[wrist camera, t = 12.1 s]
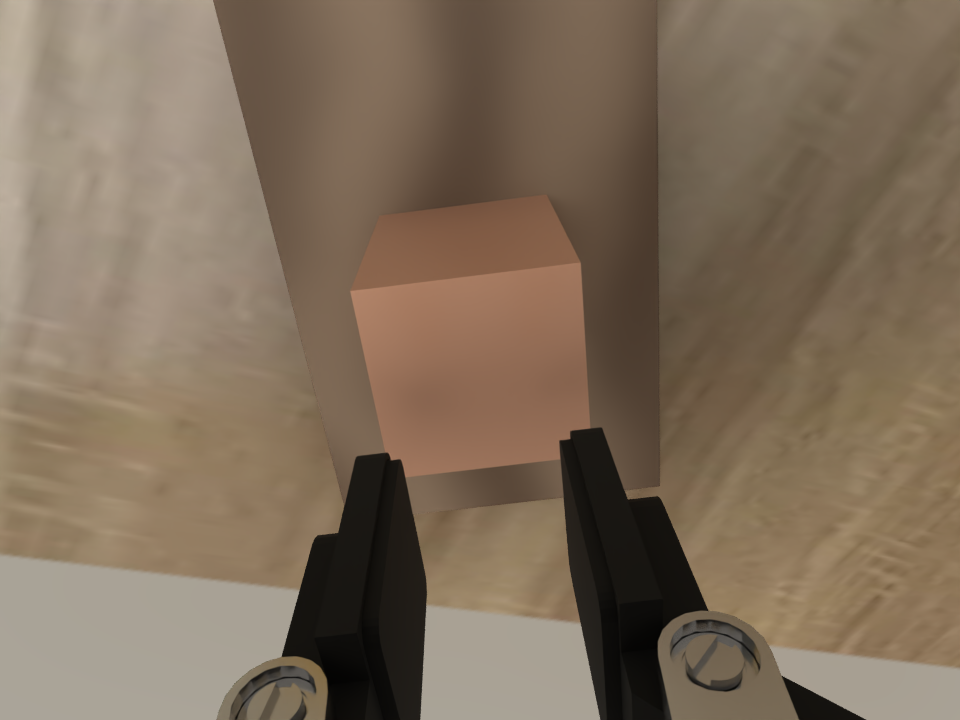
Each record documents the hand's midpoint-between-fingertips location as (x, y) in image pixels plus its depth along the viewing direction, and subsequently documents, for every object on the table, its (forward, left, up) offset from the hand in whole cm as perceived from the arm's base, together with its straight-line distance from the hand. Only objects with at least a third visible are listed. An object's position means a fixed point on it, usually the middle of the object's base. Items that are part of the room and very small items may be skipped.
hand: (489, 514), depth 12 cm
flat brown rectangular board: (0, 0, -13) cm, 13 cm away
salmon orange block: (0, 0, -12) cm, 12 cm away
